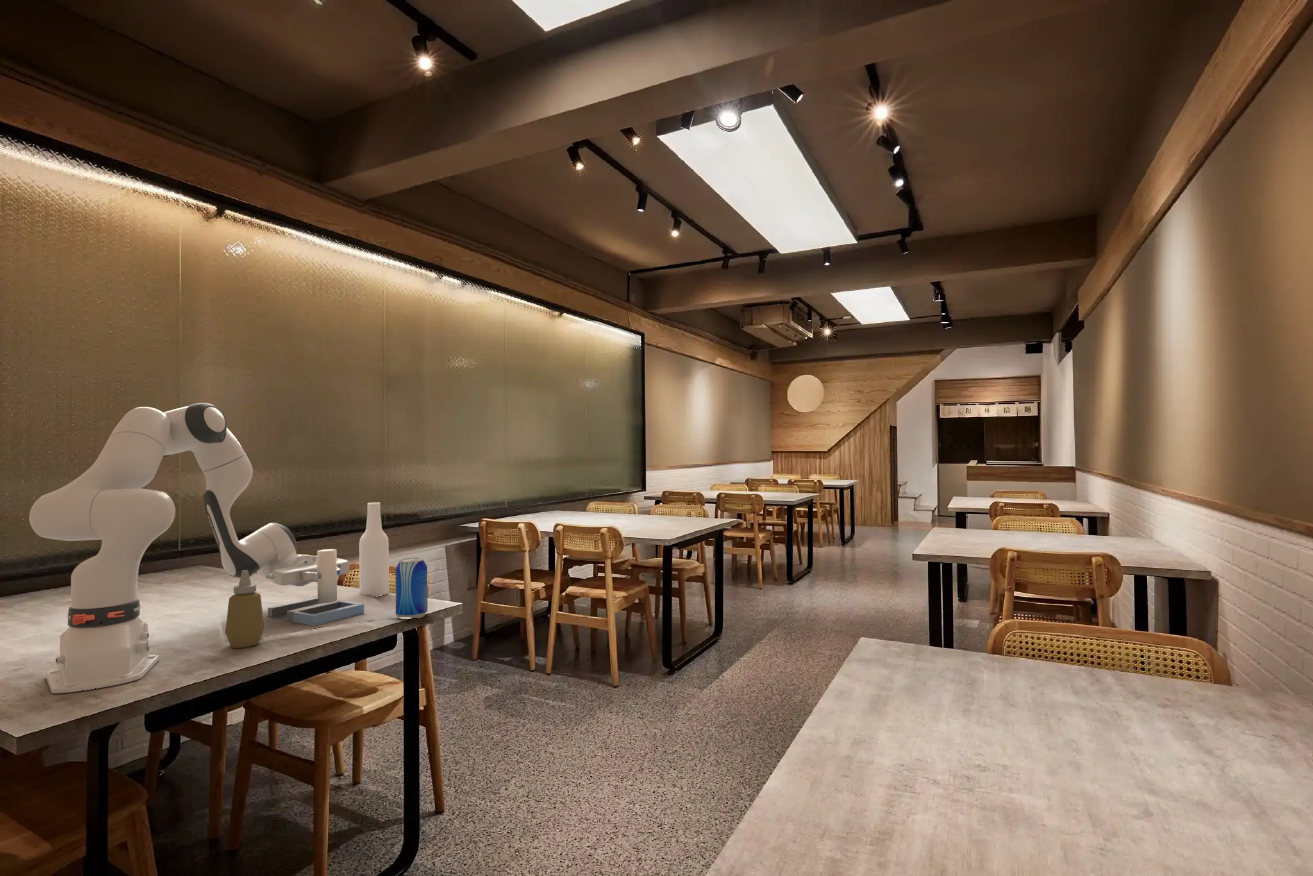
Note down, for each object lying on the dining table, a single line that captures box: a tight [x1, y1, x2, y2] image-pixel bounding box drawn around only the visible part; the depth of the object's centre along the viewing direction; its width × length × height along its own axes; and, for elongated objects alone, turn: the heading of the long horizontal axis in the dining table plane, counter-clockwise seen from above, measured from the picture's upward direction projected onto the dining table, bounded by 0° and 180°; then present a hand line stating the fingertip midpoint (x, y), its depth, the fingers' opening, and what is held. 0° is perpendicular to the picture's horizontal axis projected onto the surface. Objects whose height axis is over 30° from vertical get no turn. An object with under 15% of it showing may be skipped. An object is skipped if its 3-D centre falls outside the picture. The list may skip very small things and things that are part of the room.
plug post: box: [316, 548, 338, 603], centre depth 183 cm, size 5×5×14 cm
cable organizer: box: [266, 596, 366, 630], centre depth 185 cm, size 22×15×4 cm
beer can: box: [394, 557, 429, 619], centre depth 185 cm, size 8×8×16 cm
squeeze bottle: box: [224, 570, 265, 649], centre depth 160 cm, size 8×8×18 cm
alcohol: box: [358, 501, 390, 598], centre depth 214 cm, size 9×9×30 cm
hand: (329, 574), depth 182 cm, fingers closed on plug post, 5 cm apart
